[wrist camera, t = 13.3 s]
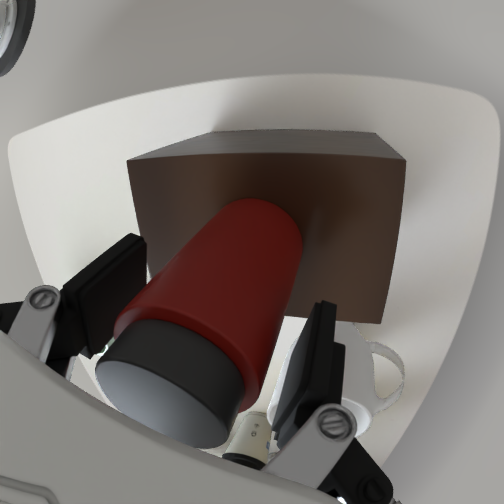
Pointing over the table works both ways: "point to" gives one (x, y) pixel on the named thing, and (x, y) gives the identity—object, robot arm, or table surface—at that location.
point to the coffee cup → (251, 442)
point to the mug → (353, 376)
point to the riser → (285, 205)
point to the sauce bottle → (205, 326)
